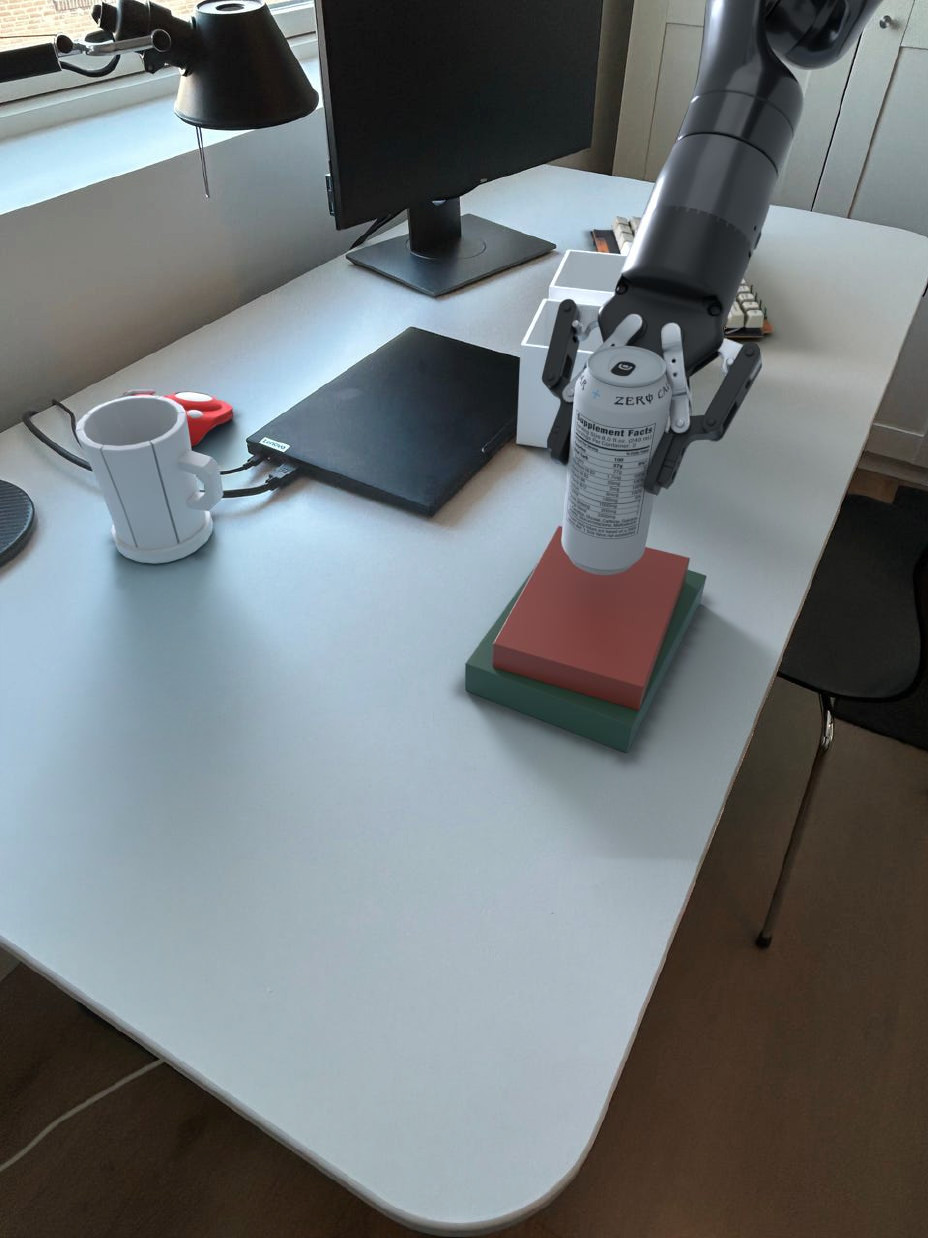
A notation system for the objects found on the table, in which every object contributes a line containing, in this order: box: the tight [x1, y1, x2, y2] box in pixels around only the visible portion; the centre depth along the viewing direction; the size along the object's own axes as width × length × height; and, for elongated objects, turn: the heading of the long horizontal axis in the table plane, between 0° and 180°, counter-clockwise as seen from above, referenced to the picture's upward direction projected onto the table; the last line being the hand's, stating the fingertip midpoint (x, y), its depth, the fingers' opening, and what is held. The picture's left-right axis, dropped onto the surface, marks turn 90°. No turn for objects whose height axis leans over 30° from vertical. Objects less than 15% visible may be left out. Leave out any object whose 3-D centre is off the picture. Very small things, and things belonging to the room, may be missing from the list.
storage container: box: [516, 249, 627, 449], centre depth 96 cm, size 25×11×11 cm, turn 165°
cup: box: [75, 395, 224, 564], centre depth 77 cm, size 10×9×12 cm
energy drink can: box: [561, 346, 672, 575], centre depth 59 cm, size 6×6×15 cm
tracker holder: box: [115, 389, 234, 447], centre depth 93 cm, size 12×4×10 cm
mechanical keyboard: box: [589, 215, 774, 338], centre depth 121 cm, size 38×19×3 cm, turn 1°
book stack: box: [464, 525, 708, 754], centre depth 69 cm, size 18×13×6 cm
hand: (603, 475), depth 58 cm, fingers closed on energy drink can, 6 cm apart
